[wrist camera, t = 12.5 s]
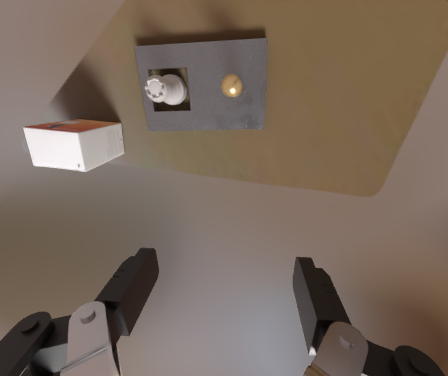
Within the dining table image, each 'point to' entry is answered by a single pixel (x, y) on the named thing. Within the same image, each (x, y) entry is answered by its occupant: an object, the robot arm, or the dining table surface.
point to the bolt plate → (210, 84)
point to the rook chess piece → (166, 89)
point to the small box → (74, 143)
